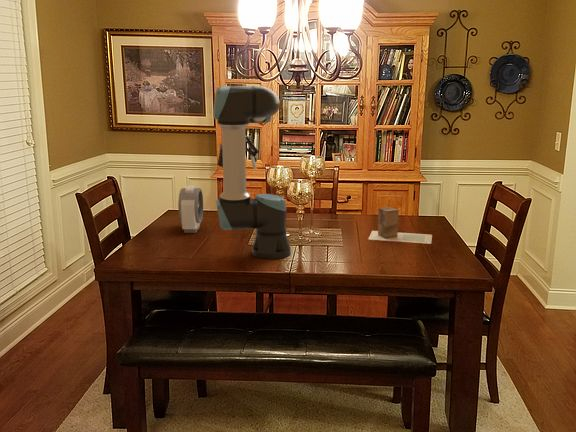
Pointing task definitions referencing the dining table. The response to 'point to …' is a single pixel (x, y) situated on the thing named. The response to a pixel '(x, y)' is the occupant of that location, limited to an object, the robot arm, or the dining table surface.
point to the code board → (404, 237)
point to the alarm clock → (190, 208)
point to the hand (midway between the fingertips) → (242, 173)
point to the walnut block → (388, 222)
